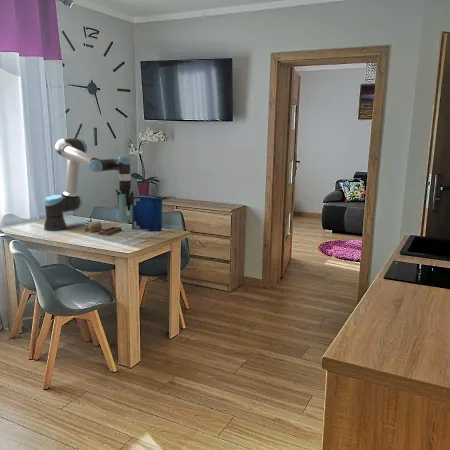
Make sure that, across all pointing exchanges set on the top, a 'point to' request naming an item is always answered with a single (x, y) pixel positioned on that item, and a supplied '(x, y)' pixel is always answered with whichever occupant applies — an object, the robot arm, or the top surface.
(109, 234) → the slot rack
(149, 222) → the book
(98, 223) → the offcut stack
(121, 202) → the teal slotted panel
